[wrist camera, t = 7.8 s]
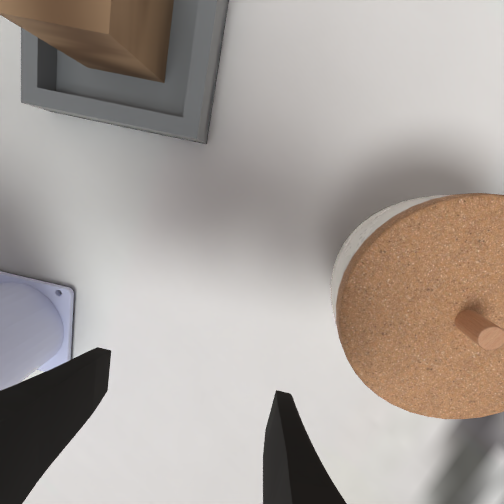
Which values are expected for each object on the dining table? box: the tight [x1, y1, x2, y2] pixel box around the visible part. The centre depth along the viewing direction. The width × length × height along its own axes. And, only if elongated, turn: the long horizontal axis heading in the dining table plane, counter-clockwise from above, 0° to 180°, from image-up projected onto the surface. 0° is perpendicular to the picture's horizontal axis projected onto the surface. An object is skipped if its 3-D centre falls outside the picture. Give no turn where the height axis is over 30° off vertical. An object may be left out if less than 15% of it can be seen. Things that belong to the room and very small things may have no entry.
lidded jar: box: [331, 193, 504, 419], centre depth 15 cm, size 11×11×9 cm
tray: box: [21, 0, 229, 144], centre depth 17 cm, size 11×11×2 cm
